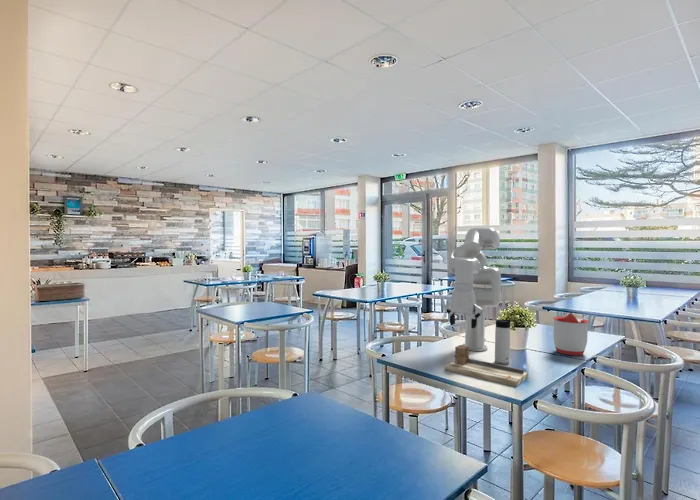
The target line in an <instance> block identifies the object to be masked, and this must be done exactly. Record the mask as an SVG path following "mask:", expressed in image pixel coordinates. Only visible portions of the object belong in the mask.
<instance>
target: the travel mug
mask: <svg viewBox="0 0 700 500" xmlns="http://www.w3.org/2000/svg"><path fill="white" fill-rule="evenodd" d="M511 322H512V320H511V319H508V318H507V319H496V320H495V328H494V329H495V330H494V334H495V337H494V364H498V365H503V366H508V365H509V364H510V348H511V347H510V345H511V344H510V343H511Z"/></svg>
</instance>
